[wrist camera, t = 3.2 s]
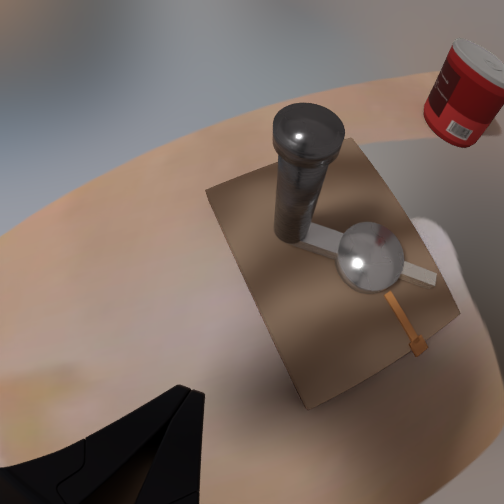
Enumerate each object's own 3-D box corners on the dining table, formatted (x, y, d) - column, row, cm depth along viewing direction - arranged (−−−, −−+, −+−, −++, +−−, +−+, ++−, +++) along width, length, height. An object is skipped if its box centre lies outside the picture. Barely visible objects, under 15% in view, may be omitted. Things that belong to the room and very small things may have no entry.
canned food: (484, 145, 27) (526, 87, 17) (447, 154, 27) (494, 84, 16) (449, 101, 30) (481, 41, 20) (409, 105, 29) (440, 33, 19)
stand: (453, 323, 21) (464, 320, 19) (308, 414, 19) (312, 418, 17) (347, 147, 27) (351, 135, 25) (208, 199, 25) (204, 188, 24)
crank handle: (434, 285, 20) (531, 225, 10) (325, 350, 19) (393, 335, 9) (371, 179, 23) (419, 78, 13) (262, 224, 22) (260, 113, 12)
